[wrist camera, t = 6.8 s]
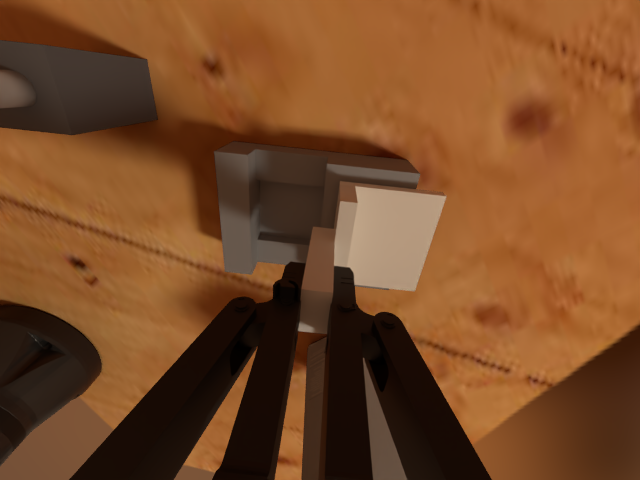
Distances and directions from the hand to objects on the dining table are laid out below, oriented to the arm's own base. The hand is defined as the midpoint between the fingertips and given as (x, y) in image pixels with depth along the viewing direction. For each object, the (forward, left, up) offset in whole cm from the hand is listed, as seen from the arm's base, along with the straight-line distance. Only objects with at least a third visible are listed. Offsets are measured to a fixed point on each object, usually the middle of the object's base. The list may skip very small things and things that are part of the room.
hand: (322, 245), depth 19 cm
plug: (-16, +8, -7) cm, 19 cm away
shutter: (+4, 0, -2) cm, 5 cm away
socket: (-1, 0, -6) cm, 6 cm away
